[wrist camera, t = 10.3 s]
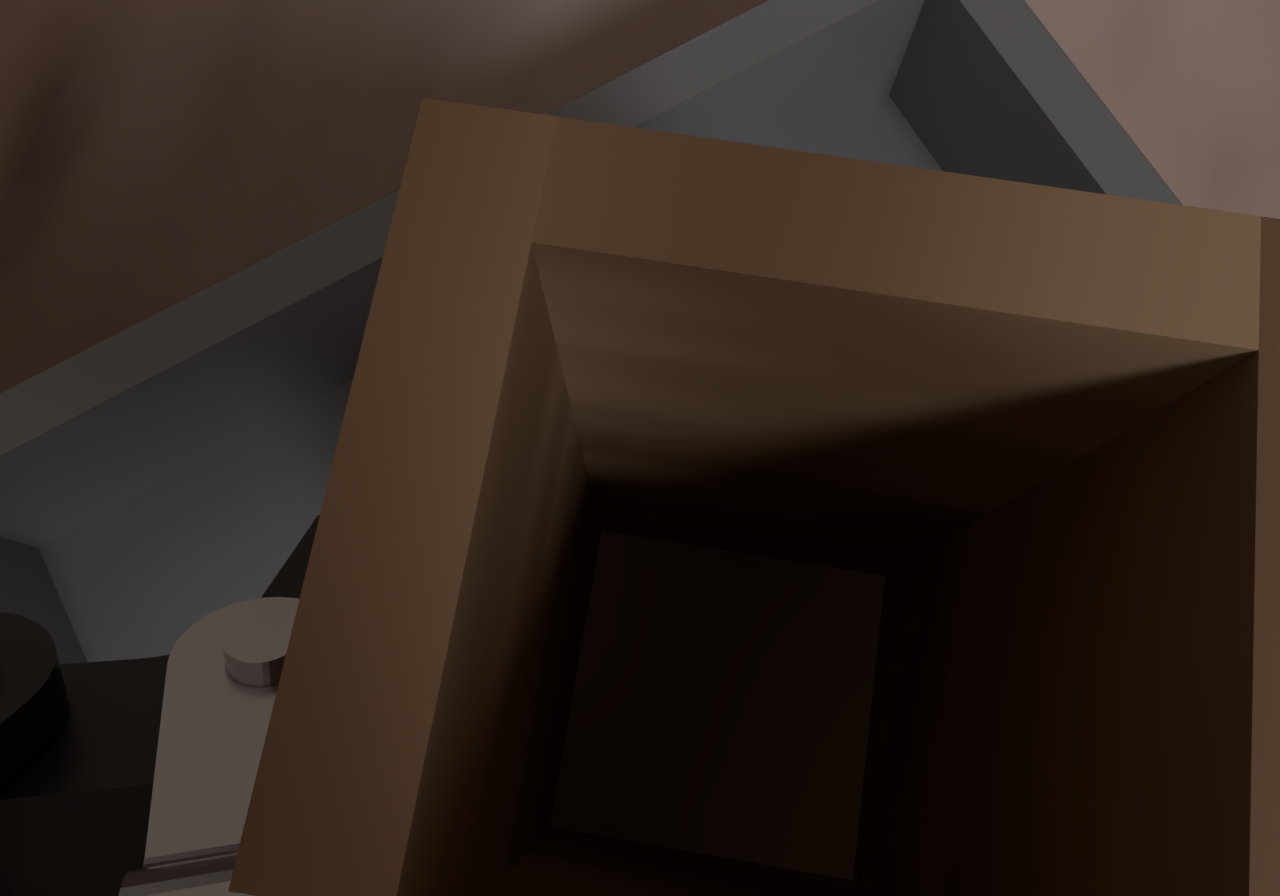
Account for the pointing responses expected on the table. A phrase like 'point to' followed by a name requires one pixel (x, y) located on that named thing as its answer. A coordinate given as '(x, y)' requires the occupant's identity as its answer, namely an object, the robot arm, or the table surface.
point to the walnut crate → (786, 537)
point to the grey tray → (346, 279)
